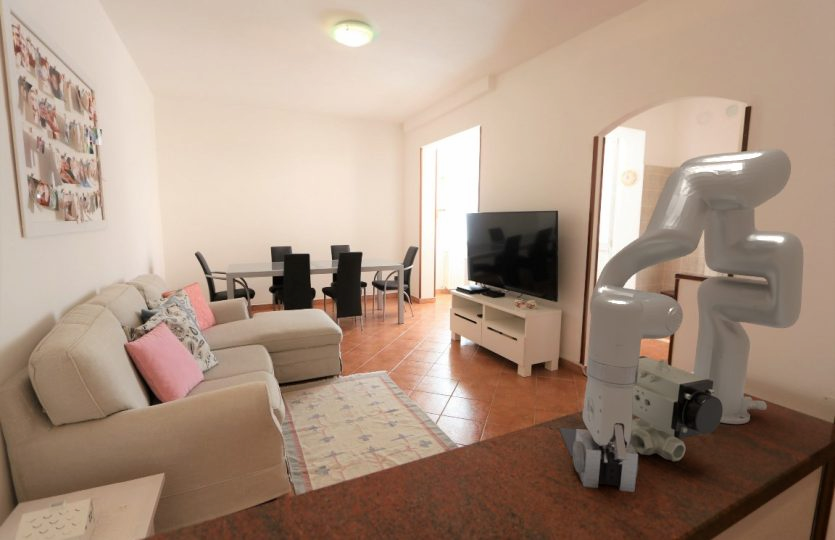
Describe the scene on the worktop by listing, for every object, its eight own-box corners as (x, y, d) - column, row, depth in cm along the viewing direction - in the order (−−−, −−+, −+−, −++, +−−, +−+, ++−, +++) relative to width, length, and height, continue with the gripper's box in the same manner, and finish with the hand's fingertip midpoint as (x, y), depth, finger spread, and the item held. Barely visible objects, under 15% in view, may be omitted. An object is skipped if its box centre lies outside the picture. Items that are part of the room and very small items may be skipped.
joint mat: (609, 433, 82) (609, 432, 81) (628, 462, 72) (628, 461, 72) (559, 429, 83) (559, 427, 83) (570, 457, 73) (571, 455, 73)
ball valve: (597, 430, 83) (604, 348, 80) (628, 424, 86) (635, 344, 83) (682, 484, 66) (694, 382, 64) (716, 474, 69) (728, 376, 67)
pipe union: (623, 467, 70) (626, 433, 69) (638, 492, 64) (642, 454, 63) (570, 462, 71) (572, 428, 71) (579, 486, 65) (582, 449, 64)
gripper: (574, 351, 74) (568, 443, 76) (604, 389, 57) (594, 505, 60) (617, 354, 73) (609, 447, 75) (660, 394, 56) (648, 511, 59)
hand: (602, 471), depth 67 cm, fingers closed on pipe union, 4 cm apart
